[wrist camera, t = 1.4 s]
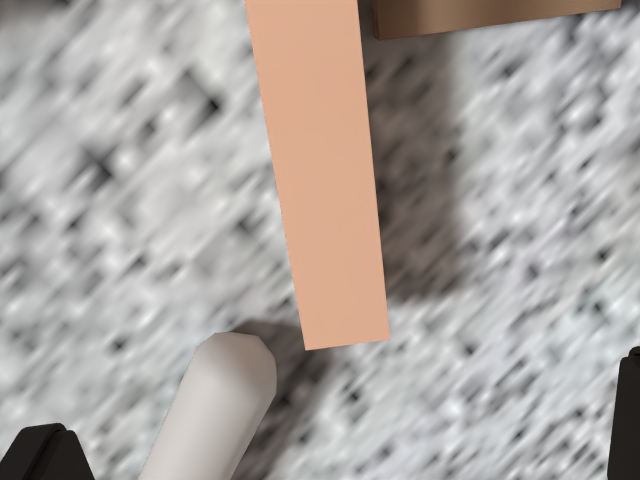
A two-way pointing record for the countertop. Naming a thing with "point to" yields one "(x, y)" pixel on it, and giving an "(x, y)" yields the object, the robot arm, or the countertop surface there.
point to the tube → (214, 410)
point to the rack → (469, 14)
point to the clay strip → (322, 164)
